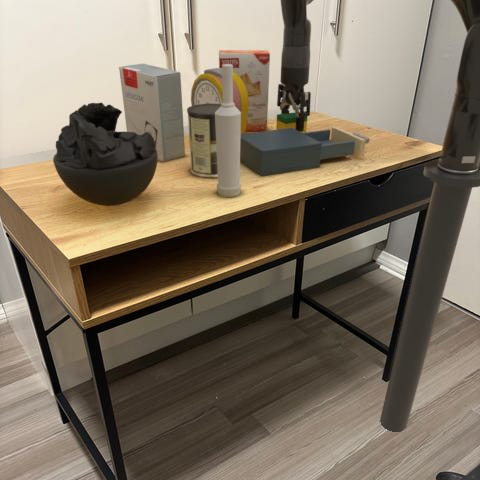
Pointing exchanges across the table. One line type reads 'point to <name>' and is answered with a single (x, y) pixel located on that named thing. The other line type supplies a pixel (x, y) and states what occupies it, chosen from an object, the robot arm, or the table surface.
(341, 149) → the drawer
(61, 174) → the bowl of black rocks
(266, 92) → the cracker box
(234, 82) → the alarm clock
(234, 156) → the bottle
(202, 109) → the coffee can
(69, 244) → the table surface
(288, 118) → the sponge
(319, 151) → the cabinet
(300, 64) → the robot arm
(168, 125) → the hard drive box
